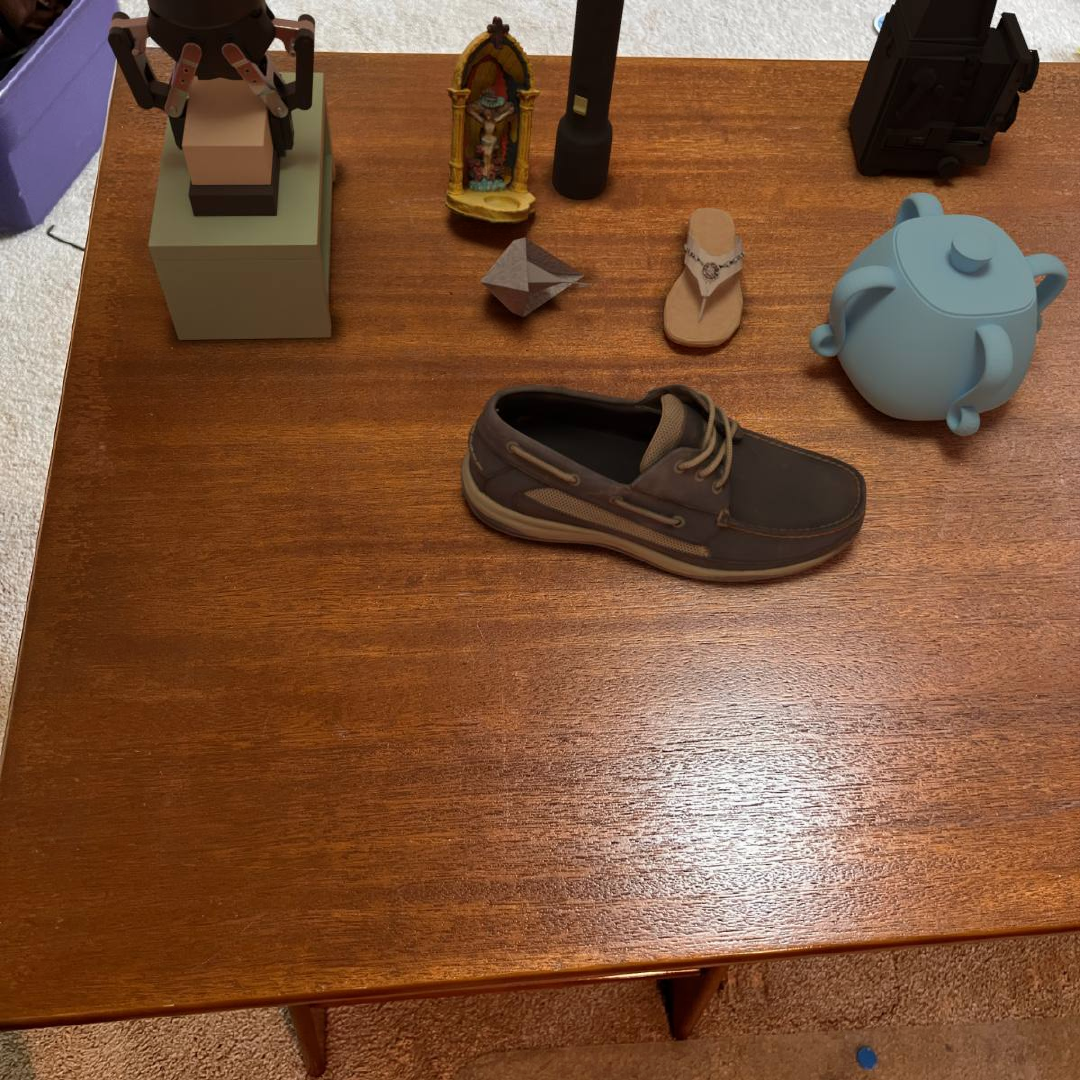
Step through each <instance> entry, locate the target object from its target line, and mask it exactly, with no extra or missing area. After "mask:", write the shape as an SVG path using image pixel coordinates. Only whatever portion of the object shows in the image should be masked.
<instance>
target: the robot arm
mask: <svg viewBox="0 0 1080 1080" xmlns="http://www.w3.org/2000/svg"><path fill="white" fill-rule="evenodd" d="M146 2H147V5H148V9H149V10H148V13H147V16H141V17H132V18H131V17H130V16H129V14H127V13H126V12H123V11H115V12H114V13H113V14H112V16H111V21H110V26H109V29H108V36H107V43H108V44H109V47H110V49H111V51H112V53H113V55H114V58H115V59H116V61H117V64H118V66H119V68H120V70H121V72H122V74H123V77H124V79H125V81H126V83H127V85H128V87H129V89H130V91H131V93H132V96H133V98H134V101H135V102H136V104H137V106H138V107H139V108H141V109H143V110H146V111H147V110H148V111H149V110H152V109H153V108H155V109H159V110H162V111H163V112H164V113H165V114H166V116H167V118H168V117H169V121H170V125H171V128H172V132H173V136H174V140H175V143H176V145H177V147H178V148H179V149H180V150H183V148H182V142H183V134H184V127H185V120H186V112H187V105H188V98H187V96H188V95H189V92H190V89H191V85H192V82H193V79H194V76H197V77H198V80H212V79H216V78H224V79H229V80H244V81H245V82H246V83H247V85H248V86H249V88H250V89H251V90H252V92H253V93H254V94H255V95H256V96H260V97H261V99H262V100H263V101H264V103H265V104H266V105H267V107H268V108H269V110H270V117H269V119H270V124H271V130H272V136H273V141H274V147H275V150H276V152H277V157H286V153H287V150H292V148H293V145H294V126H293V120H292V114H291V112H292V111H293V110H294V109H297V108H299V109H300V110H309V109H310V108H311V107H312V96H313V73H315V71H314V70H315V69H314V68H315V65H314V64H315V45H316V44H315V42H316V20H315V18H314V17H313V16H312V15H311V14H308V13H304V14H303V13H302V14H300V15H299V16H298V17H297V20H294V19H287V18H279V17H276V16H275V14H274V12H273V11H272V10H271V8H270V7H269V5H268V3H267V1H266V0H146ZM149 38H150V39H151V40H152V41H153V42H154V43H155V45H157V46H158V47H159V48H160V49H162V50H163V52H164V53H166V54H167V55H168V56H169V57H170V58H171V59H172V60H173V61H174V64H173V67H172V71H171V74H170V77H169V80H168V81H169V82H168V83H167V82H163V81H161V80H158V78H157V76H156V74H155V72H154V69H153V66H152V65H151V62H150V60H149V58H148V56H147V53H146V49H147V43H148V39H149ZM275 39H277V40H280V41H281V42H282V44H283V46H284V51H285V52H286V53H287V54H288V55H289V56H290V57H291V58H295V72H296V80H295V81H293V82H290V83H287V84H286V83H285V81H284V80H283V78H282V77H281V75H280V74H279V73H278V72H279V71H278V70H277V68H276V65H275V61H274V60H273V58H272V56H271V55H270V54H269V52H268V50H269V48H270V47H271V45H272V43H273V42H274V41H275Z"/></svg>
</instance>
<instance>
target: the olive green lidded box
mask: <svg viewBox="0 0 1080 1080" xmlns="http://www.w3.org/2000/svg"><path fill="white" fill-rule="evenodd" d="M278 73H279V74H281V75H282V78H283V80H284V81H285V83H286V84H287V83H290V82H293V81H295V80H296V71H295V72H294V71H293V72H291V71H287V72H286V71H285V72H283V71H281V72H280V71H278ZM187 98H189V95H188V96H187ZM291 114H292V120H293V126H294V145H293V148H292V150H287V153H286V157H281V160H280V175H279V191H278V206H277V216H194V214H193V210H192V207H191V203H190V199H189V196H188V195H189V187H190V179H191V178H190V174H189V171H188V167H187V163H186V159H185V155H184V152H183V150H180V149H179V148H178V147H177V145H176V143H175V140H174V136H173V132H172V128H171V125H170V121H169V117H168V116H167V119H166V126H165V132H164V139H163V145H162V151H161V158H160V166H159V173H158V177H157V184H156V191H155V197H154V205H153V211H152V217H151V224H150V231H149V236H148V237H149V238H148V244H147V247H148V250H149V254H150V257H151V259H152V263H153V265H154V269H155V271H156V275H157V278H158V281H159V284H160V287H161V290H162V294H163V296H164V299H165V302H166V305H167V308H168V312H169V314H170V317H171V321H172V324H173V327H174V330H175V334H176V337H177V339H178V341H202V340H205V341H206V340H256V339H257V340H258V339H259V340H260V339H262V340H263V339H266V340H267V339H268V340H269V339H318V338H319V339H320V338H331V337H332V319H331V312H330V311H331V310H330V282H331V281H330V277H331V276H330V275H331V243H332V213H333V212H332V207H333V183H335V182H336V163H335V155H334V147H333V139H332V131H331V122H330V121H331V120H330V114H329V106H328V97H327V90H326V81H325V73H324V72H314V73H313V96H312V107H311V108H310V109H309V110H300V109H299V108H297V109H294V110H293V111H292V112H291Z"/></svg>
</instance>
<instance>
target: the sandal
mask: <svg viewBox="0 0 1080 1080" xmlns="http://www.w3.org/2000/svg"><path fill="white" fill-rule="evenodd" d="M683 247H684V251H685V254H684V262H683V263H684V264H685V266H684V269H683V270H682V272H681V273H680V275H679V276H678V277H677V279H676V280H675V282H674V283H673V285H672V287H671V289H670V291H669V292H668V294H667V296H666V299H665V302H664V307H663V313H662V317H663V319H662V320H663V331H664V333H665V335H666V337H667V338H668V339H669V340H670V341H672V342H673V343H674V344H678V345H680V346H684V347H691V348H712V347H718V346H720V345H722V344H723V343H725V342H727V341H728V340H730V339H731V337H732V336H733V335H734V334H735V332H736V331H737V329H738V328H739V327H740V323H741V319H742V315H743V307H744V298H743V293H742V287H741V281H740V274H739V272H740V271H741V270H742V269H743V267H744V266H743V265H744V263H743V257H745V253H746V252H745V250H744V249H743V240H742V237H741V236H740V235H738V234H737V235H736V228H735V224H734V220H733V216H731V214H730V213H729V212H728V211H725V210H724V209H721V208H715V207H699V208H697V209H696V210H694V211H693V212H691V213H690V216H689V218H688V223H687V231H686V240H685V244H684V246H683Z"/></svg>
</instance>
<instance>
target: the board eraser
mask: <svg viewBox="0 0 1080 1080" xmlns="http://www.w3.org/2000/svg"><path fill="white" fill-rule="evenodd" d="M280 75H281V74H280ZM281 77H282V75H281ZM269 117H270V110H269V108H268V107H267V105H266V104H265V103H264V101H263V100H262V99H261V97H260V96H256V95H255V94H254V93H253V92H252V90H251V89H250V88H249V86H248V85H247V83H246V82H245V81H244V80H229V79H224V78H216V79H212V80H198V77H197V76H194V79H193V82H192V85H191V89H190V92H189V98H188V105H187V112H186V120H185V127H184V134H183V142H182V148H183V152H184V155H185V159H186V163H187V167H188V171H189V174H190V178H191V179H190V187H189V195H188V196H189V199H190V203H191V207H192V210H193V214H194V216H277V206H278V191H279V175H280V160H281V157H277V152H276V150H275V147H274V141H273V136H272V130H271V124H270V119H269Z"/></svg>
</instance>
